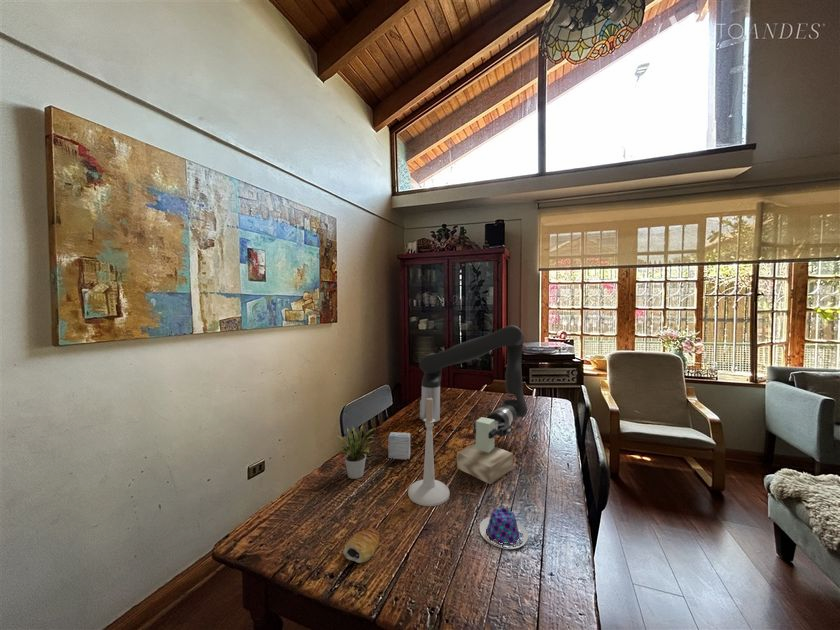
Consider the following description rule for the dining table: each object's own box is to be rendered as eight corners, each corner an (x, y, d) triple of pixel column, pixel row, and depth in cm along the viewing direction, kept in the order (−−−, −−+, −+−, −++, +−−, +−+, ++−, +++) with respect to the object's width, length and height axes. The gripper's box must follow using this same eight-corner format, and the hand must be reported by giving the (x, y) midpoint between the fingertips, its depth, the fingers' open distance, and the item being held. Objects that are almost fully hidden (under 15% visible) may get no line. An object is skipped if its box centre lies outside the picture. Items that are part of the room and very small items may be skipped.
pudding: (536, 549, 77) (537, 528, 77) (488, 554, 75) (488, 532, 75) (515, 516, 89) (515, 498, 89) (473, 519, 87) (473, 501, 87)
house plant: (388, 469, 112) (388, 424, 112) (365, 490, 100) (365, 439, 99) (354, 461, 118) (354, 417, 118) (329, 479, 106) (329, 431, 105)
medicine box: (410, 454, 124) (410, 432, 124) (409, 460, 120) (409, 437, 119) (390, 453, 125) (390, 431, 124) (388, 459, 120) (388, 436, 120)
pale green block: (475, 448, 113) (475, 421, 113) (481, 443, 117) (481, 416, 117) (488, 452, 110) (489, 424, 110) (494, 447, 114) (494, 419, 114)
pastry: (364, 531, 82) (364, 517, 82) (387, 540, 79) (387, 525, 79) (340, 558, 74) (340, 541, 74) (364, 569, 71) (364, 552, 71)
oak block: (456, 469, 114) (457, 452, 114) (480, 456, 124) (480, 440, 124) (490, 485, 104) (490, 467, 104) (512, 469, 114) (513, 453, 113)
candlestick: (419, 511, 90) (420, 406, 89) (401, 487, 102) (401, 394, 100) (457, 498, 96) (458, 400, 95) (436, 478, 107) (436, 389, 106)
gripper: (483, 406, 129) (463, 418, 115) (518, 413, 121) (502, 428, 107) (483, 424, 129) (463, 439, 115) (518, 433, 121) (501, 450, 107)
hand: (482, 433), depth 111 cm, fingers closed on pale green block, 5 cm apart
